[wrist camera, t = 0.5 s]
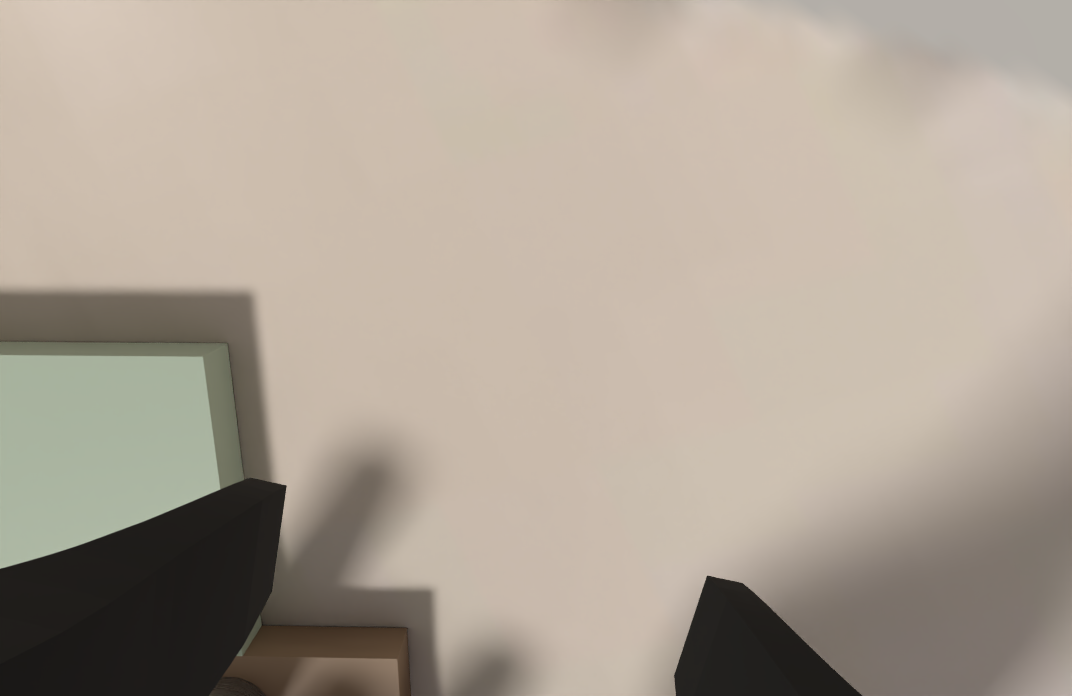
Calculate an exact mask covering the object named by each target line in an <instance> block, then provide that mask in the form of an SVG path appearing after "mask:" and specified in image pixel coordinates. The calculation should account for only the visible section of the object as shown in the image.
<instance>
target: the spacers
mask: <svg viewBox="0 0 1072 696" xmlns="http://www.w3.org/2000/svg"><path fill="white" fill-rule="evenodd" d="M209 696H265V694H264V693H263V692H262V691H261V689H259V688H258V687H257V686H256V685H254V684H253V683H251V682H249V681H247V680H244V679H241V678H237V677H222V678H221V679H220V680H219V682H218V683H217V685H216V686H215V688H214V689H213V691H212V692H211V693H210V695H209Z"/></svg>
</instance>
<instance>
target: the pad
mask: <svg viewBox="0 0 1072 696" xmlns="http://www.w3.org/2000/svg"><path fill="white" fill-rule="evenodd" d="M243 480H244V475H243V467H242V459H241V451H240V442H239V434H238V426H237V418H236V410H235V401H234V393H233V385H232V377H231V369H230V360H229V352H228V344H227V343H125V342H0V569H1V568H5V567H8V566H12V565H15V564H19V563H22V562H26V561H29V560H33V559H37V558H40V557H44V556H47V555H50V554H53V553H56V552H60V551H63V550H66V549H69V548H72V547H75V546H78V545H81V544H84V543H87V542H89V541H92V540H95V539H97V538H100V537H103V536H106V535H108V534H111V533H114V532H116V531H119V530H122V529H124V528H127V527H130V526H133V525H135V524H138V523H141V522H143V521H146V520H148V519H151V518H153V517H156V516H158V515H161V514H163V513H165V512H168V511H170V510H173V509H175V508H177V507H180V506H182V505H185V504H187V503H189V502H192V501H194V500H196V499H199V498H201V497H203V496H206V495H208V494H210V493H213V492H215V491H218V490H220V489H222V488H225V487H227V486H230V485H232V484H235V483H237V482H240V481H243ZM261 626H262V623H261V615H259V617H258V619H257V621H256V623H255V625H254V627H253V629H252V631H251V632H250V634H249V636H248V638H247V640H246V642H245V644H244V645H243V647H242V648H241V650H240V651H239V653H238V654H237V656H243V655H244V653H245V651H246V650H247V648H248V647H249V645H250V643H251V642H252V640H253V639H254V637H255V636H256V634H257V632H258V631H259V629H260V628H261Z"/></svg>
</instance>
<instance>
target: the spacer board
mask: <svg viewBox="0 0 1072 696" xmlns="http://www.w3.org/2000/svg"><path fill="white" fill-rule="evenodd" d="M222 677H237V678H241V679H244V680H247V681H249V682H251V683H253V684H254V685H256V686H257V687H258V688H259V689H261V691H262V692H263V693H264V694H265V696H411V688H410V671H409V653H408V635H407V628H374V627H315V626H261V628H260V629H259V631H258V632H257V634H256V636H255V637H254V639H253V640H252V642H251V643H250V645H249V647H248V648H247V650H246V651H245V653H244V655H243V656H236V657H235V659H234V660H233V662H232V663H231V665H230V666H229V667H228V669H227V670H226V672H225V673H224V675H223V676H222Z"/></svg>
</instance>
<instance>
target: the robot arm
mask: <svg viewBox="0 0 1072 696" xmlns="http://www.w3.org/2000/svg"><path fill="white" fill-rule="evenodd" d="M285 493H286V485H281V484H276V483H272V482H267V481H262V480H258V479H253V478H249V479H246V480H243V481H240V482H237V483H235V484H232V485H230V486H227V487H225V488H222V489H220V490H218V491H215V492H213V493H210V494H208V495H206V496H203V497H201V498H199V499H196V500H194V501H192V502H189V503H187V504H185V505H182V506H180V507H177V508H175V509H173V510H170V511H168V512H165V513H163V514H161V515H158V516H156V517H153V518H151V519H148V520H146V521H143V522H141V523H138V524H135V525H133V526H130V527H127V528H124V529H122V530H119V531H116V532H114V533H111V534H108V535H106V536H103V537H100V538H97V539H95V540H92V541H89V542H87V543H84V544H81V545H78V546H75V547H72V548H69V549H66V550H63V551H60V552H56V553H53V554H50V555H47V556H44V557H40V558H37V559H33V560H29V561H26V562H22V563H19V564H15V565H12V566H8V567H5V568H1V569H0V696H209V695H210V693H211V692H212V691H213V689H214V688H215V686H216V685H217V683H218V682H219V680H220V679H221V678H222V676H223V675H224V673H225V672H226V670H227V669H228V667H229V666H230V665H231V663H232V662H233V660H234V659H235V657H236V656H237V654H238V653H239V651H240V650H241V648H242V647H243V645H244V644H245V642H246V640H247V638H248V636H249V634H250V632H251V631H252V629H253V627H254V625H255V623H256V621H257V619H258V617H259V615H260V613H261V611H262V609H263V608H264V606H265V604H266V602H267V600H268V598H269V596H270V594H271V592H272V586H273V579H274V572H275V564H276V557H277V550H278V543H279V536H280V529H281V522H282V515H283V507H284V500H285ZM674 678H675V689H676V696H862V695H861V694H860V693H859V692H857V691H856V690H855V689H854V688H853V687H852V686H851V685H850V684H849V683H847V682H846V681H845V680H844V679H843V678H842V677H841V676H840V675H839V674H838V673H837V672H836V671H835V670H833V669H832V668H831V667H830V666H829V665H828V664H827V663H826V662H825V661H824V660H823V659H822V658H821V657H820V656H819V655H818V654H817V653H816V652H815V651H814V650H813V649H812V648H810V647H809V646H808V645H807V644H806V643H805V642H804V641H803V640H802V639H801V638H800V637H799V636H798V635H797V634H796V633H795V632H794V631H793V630H792V629H791V628H790V627H789V626H788V625H787V624H786V623H785V622H784V621H783V620H782V619H781V618H780V617H779V616H778V615H777V614H776V613H775V612H774V611H773V610H772V609H771V608H770V607H769V606H768V605H766V604H765V603H764V602H763V601H762V600H761V599H760V598H759V597H758V596H757V595H756V594H755V593H754V592H752V591H751V590H750V589H749V588H748V587H746V586H745V585H744V584H743V583H739V582H735V581H730V580H725V579H721V578H716V577H711V576H707V578H706V581H705V584H704V587H703V590H702V593H701V596H700V599H699V602H698V605H697V608H696V611H695V614H694V617H693V620H692V623H691V626H690V629H689V632H688V635H687V638H686V641H685V644H684V647H683V651H682V654H681V657H680V660H679V663H678V666H677V669H676V672H675V675H674Z"/></svg>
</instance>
